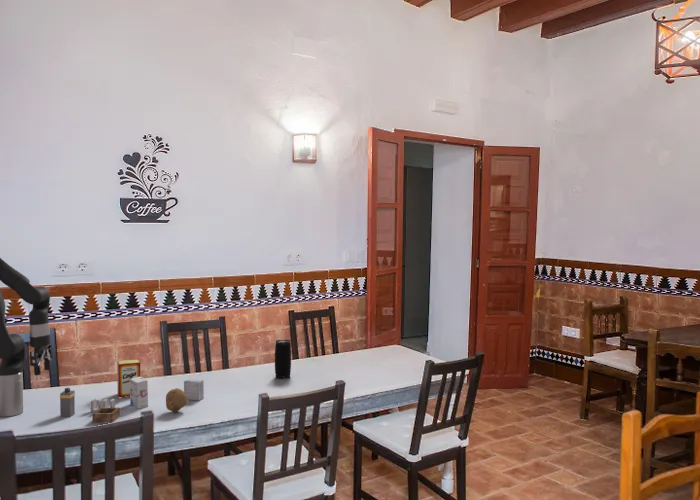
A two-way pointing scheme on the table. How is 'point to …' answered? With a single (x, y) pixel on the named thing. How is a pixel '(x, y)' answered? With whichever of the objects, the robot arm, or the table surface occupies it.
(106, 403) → the clip
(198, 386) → the medicine box
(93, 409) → the clip
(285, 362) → the portable speaker
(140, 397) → the ink box
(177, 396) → the natural sponge
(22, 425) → the table surface
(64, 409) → the gray square bottle
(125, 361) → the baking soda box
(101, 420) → the open wooden box
